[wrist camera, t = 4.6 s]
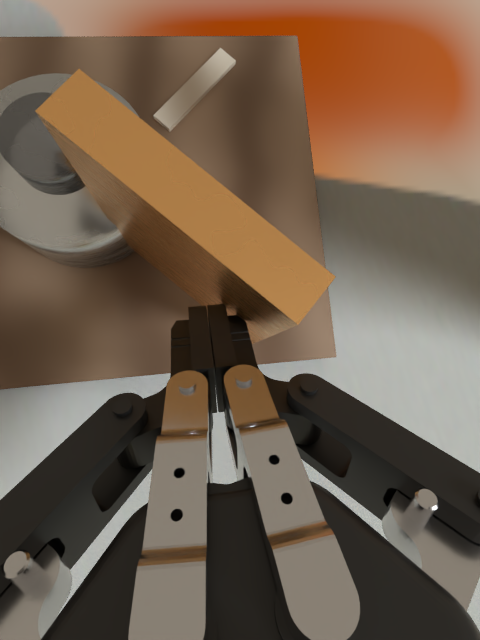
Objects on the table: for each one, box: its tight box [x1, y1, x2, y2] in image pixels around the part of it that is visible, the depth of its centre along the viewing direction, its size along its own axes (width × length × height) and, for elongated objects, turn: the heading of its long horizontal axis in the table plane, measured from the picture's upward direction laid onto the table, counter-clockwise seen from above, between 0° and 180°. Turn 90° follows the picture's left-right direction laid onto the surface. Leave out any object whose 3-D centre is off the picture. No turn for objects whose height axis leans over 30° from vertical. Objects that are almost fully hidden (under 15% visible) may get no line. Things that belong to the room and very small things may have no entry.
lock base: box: [0, 36, 336, 389], centre depth 22 cm, size 20×20×2 cm
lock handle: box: [0, 69, 335, 344], centre depth 15 cm, size 16×8×11 cm, turn 51°
